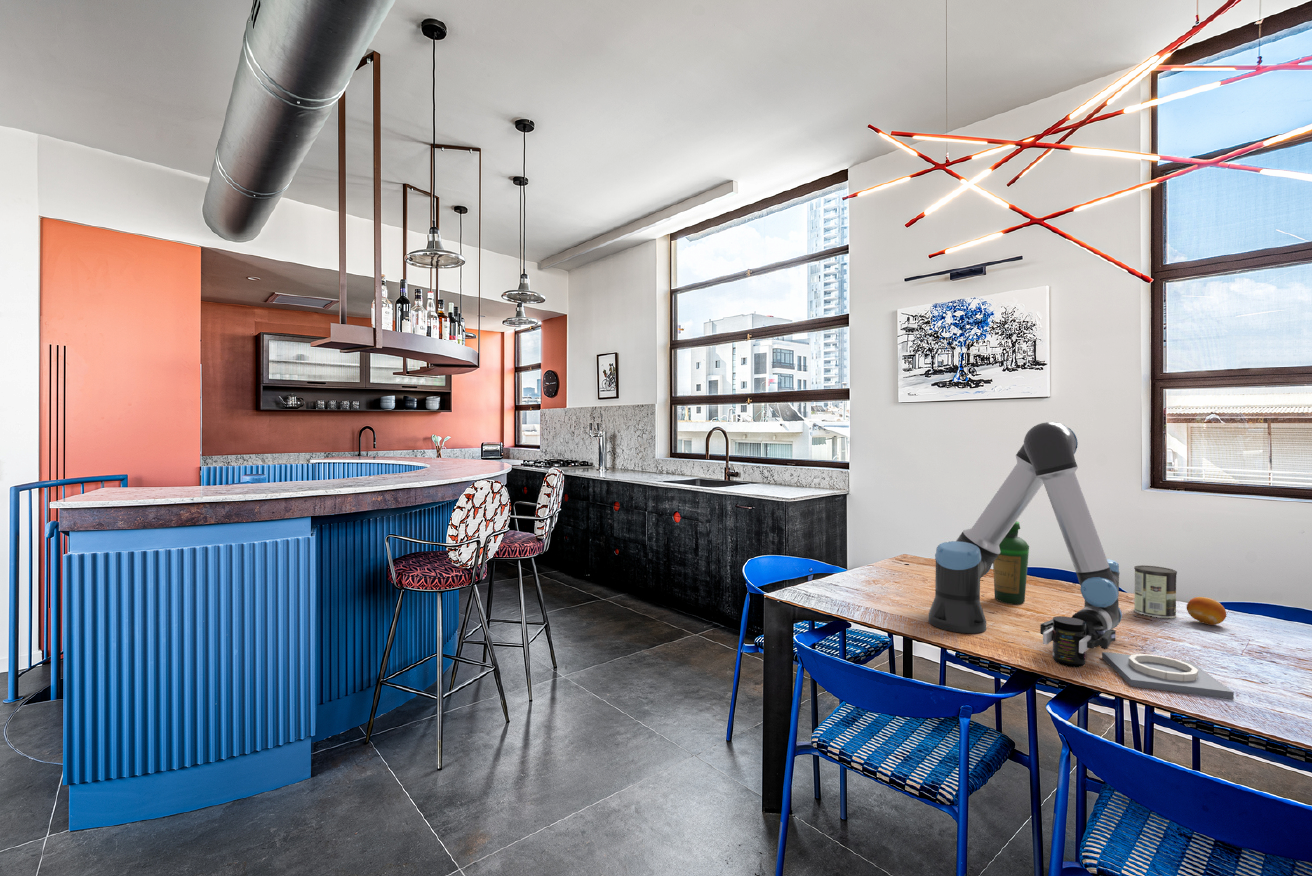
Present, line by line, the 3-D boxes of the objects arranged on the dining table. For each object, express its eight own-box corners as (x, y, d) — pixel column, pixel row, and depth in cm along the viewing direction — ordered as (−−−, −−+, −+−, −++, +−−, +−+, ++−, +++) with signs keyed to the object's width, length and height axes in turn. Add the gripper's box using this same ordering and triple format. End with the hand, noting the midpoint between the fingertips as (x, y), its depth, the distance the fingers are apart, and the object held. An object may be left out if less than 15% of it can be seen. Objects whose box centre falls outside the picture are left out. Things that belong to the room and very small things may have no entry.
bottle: (984, 597, 206) (985, 515, 205) (1013, 596, 207) (1015, 515, 206) (1004, 606, 195) (1006, 519, 195) (1036, 605, 196) (1037, 519, 196)
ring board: (1131, 686, 134) (1131, 672, 134) (1102, 657, 151) (1102, 645, 151) (1233, 699, 128) (1233, 685, 128) (1191, 667, 145) (1191, 655, 145)
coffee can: (1163, 610, 193) (1163, 566, 192) (1184, 620, 182) (1185, 573, 182) (1126, 607, 195) (1127, 564, 194) (1145, 617, 185) (1146, 571, 184)
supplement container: (1089, 670, 143) (1089, 626, 143) (1055, 665, 146) (1056, 622, 146) (1081, 660, 149) (1082, 618, 149) (1049, 656, 152) (1050, 614, 152)
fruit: (1215, 621, 181) (1216, 594, 181) (1232, 630, 173) (1232, 602, 173) (1181, 618, 184) (1181, 592, 184) (1195, 626, 176) (1196, 599, 176)
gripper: (1137, 648, 152) (1112, 671, 137) (1047, 628, 167) (1016, 647, 152) (1137, 618, 152) (1113, 638, 137) (1048, 601, 167) (1017, 617, 152)
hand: (1062, 643), depth 144 cm, fingers closed on supplement container, 7 cm apart
